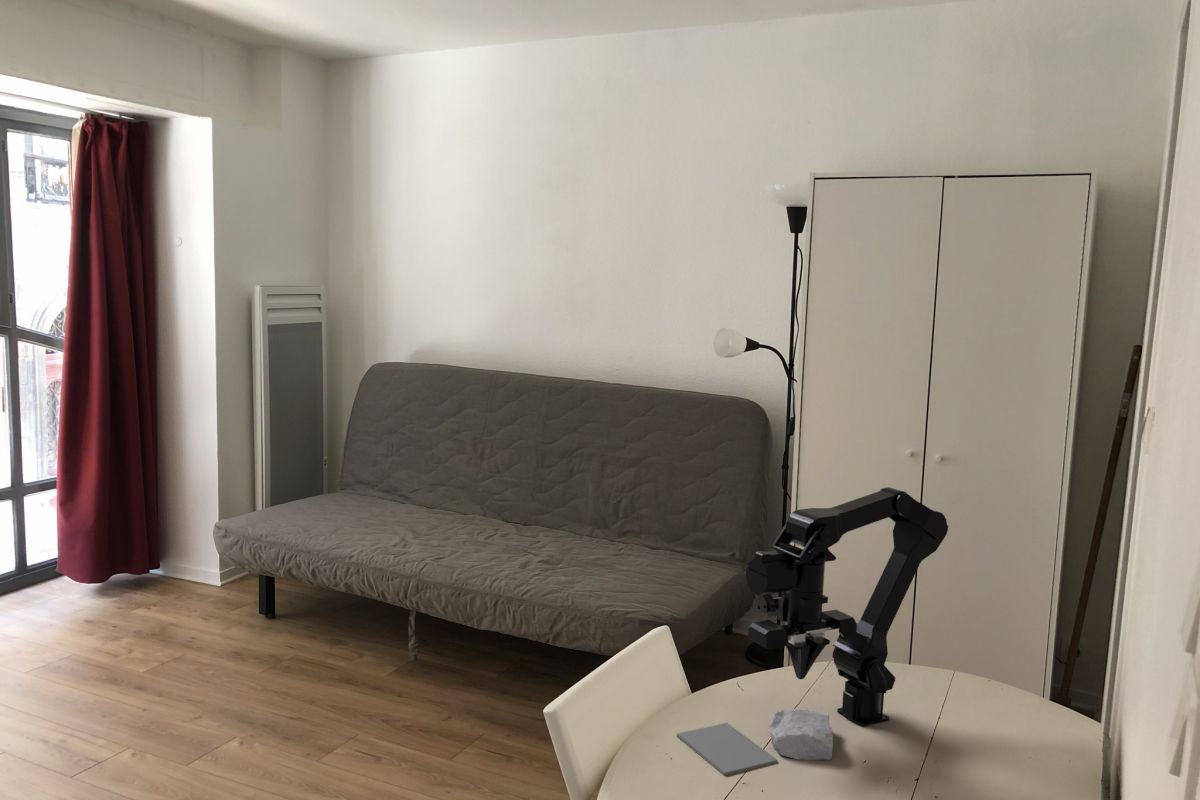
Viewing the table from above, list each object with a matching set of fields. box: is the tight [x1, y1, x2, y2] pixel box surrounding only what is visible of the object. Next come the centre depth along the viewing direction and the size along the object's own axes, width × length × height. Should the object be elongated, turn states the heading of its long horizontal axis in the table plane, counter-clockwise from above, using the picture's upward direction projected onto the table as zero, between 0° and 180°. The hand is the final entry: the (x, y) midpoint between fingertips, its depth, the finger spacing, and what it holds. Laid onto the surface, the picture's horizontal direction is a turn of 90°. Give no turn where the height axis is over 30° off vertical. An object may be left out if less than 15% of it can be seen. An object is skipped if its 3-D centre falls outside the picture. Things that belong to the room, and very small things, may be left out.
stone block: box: [769, 708, 834, 762], centre depth 156 cm, size 12×5×10 cm
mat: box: [676, 722, 778, 777], centre depth 153 cm, size 10×14×1 cm
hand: (800, 678), depth 158 cm, fingers closed
